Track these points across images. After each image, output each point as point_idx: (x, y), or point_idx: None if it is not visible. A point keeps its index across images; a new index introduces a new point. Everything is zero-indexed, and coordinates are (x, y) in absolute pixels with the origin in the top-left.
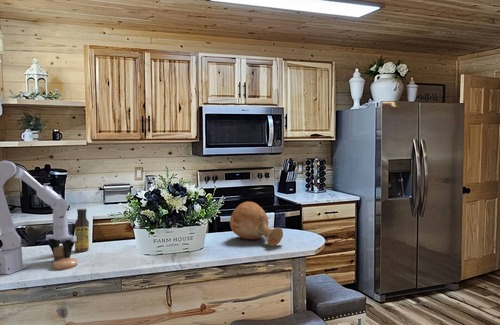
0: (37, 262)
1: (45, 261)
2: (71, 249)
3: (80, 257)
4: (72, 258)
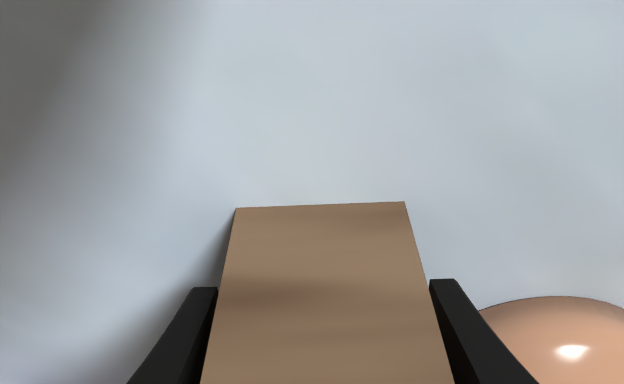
0: (81, 376)
1: (133, 336)
2: (526, 377)
3: (521, 72)
4: (584, 359)
